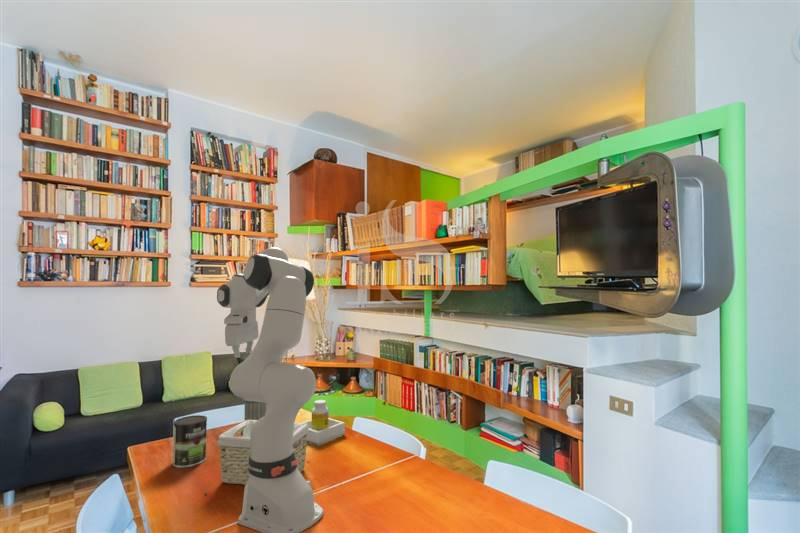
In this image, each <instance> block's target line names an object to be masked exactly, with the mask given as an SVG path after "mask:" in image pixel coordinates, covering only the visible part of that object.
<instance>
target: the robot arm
mask: <svg viewBox="0 0 800 533" xmlns="http://www.w3.org/2000/svg"><path fill="white" fill-rule="evenodd" d="M314 285H315V277H314V274H313V272H312V271H310V270H309V269H308V268H306V267H304V266H301V265H298V264H295V263H292V262H290V261H289V257H288V255H287V254H286V252H285V251H284V250H283V249H281V248H279V247H275V246H273V247H268V248H265V249H264V250H261V251H260V252H259V253H256V254H253V255H252V256H250V258H249V259H248V260H247V261H246V264H245V265H244V268H243V273H235V274H233V275H232V276H231V280H230V281H228V282H226V283H223V284H221V285H220V286H219V288H217V293H216V301H217V303H218V304H219V305H220V306H221V307H223V308H227V309H230V313H229V314H228V315H227V316H226V317H225V318H223V319H224V320H223V323H224V325H225V327H224V336H225V337H224V340H225V342H224V343H225V344H226V346H227V347H231V349H232V351H233V357H234V358H240V357H241V356H242V355H241V354H242V352H241V351H240V348H241V347H240V346H241V345H244V344H246V348H245V353H246V354H249V355H248V356H247V357H246V358H245V359H244V360H243V361H242V362H240V363H239V364H237V365H236V366H235V368H233V370H232V372H231V374H230V377H229V388H230V391H231V393H232V394H233V395H234V396H236V397H238V398H240V399H243V400H244V399H245V400H248V401H255V402H263V403H266V404H267V409H266V414H265V416H264V417H262V418H260V419H259V420H257V421H256V422H255V424H254V425H253V426H252V429H251V449H250V456H249V461H248V471H249V473H250V474H249V478H248V481H247V483H246V485H244V490H243V500H242V510H241V511H242V512H241V513H240V515H239V517H238V520H237V523H238V524H239V525H241V526H243V527H247V528H249V529H252V530H255V531H257V532H260V533H302V532H303V531H305V530H306V529H309V528H310V527H312V526H313V525H314V524H316V523H317V522H318V521H319V520H320V519H321V518H322V517H323V516H324V513H325V512H324V508H323V507H322V506H320V505H319V504H318V503H317V502H316V501H315V496H314V491H313V488H312V482H311V481H310V480H306V479H305V477H304V475H303V474H302V472H301V473H300V471H299V470H298V468H297V464H298V463H297V461H299V459H298V460H296V456H295V453H294V450H293V430H294V423H296V418H297V415H298V413H299V411H300V410H301V408H302V407H303V406H304V405H306V404H307V403H308V402H309V401H310V400H311V399H312V398H313V396H314V394H315V392H316V388H317V378H316V375H315V373H314V372H313V370H312V369H311V368H309V367H307V366H304V365H301V364H297V363H291V362H282V361H283V359H284V356H285V355H286V354H287V353H288V352H289V351H290V350H291V349H293V348H295V347H296V346H298V344H299V343H300V341H301V338H302V332H303V331H302V330H303V326H304V321H305V320H304V319H305V314H306V313H305V312H306V304H307V297H308V296H309V295H310V294H311V292H312V291H313V288H314ZM267 298H268V299H267ZM266 301H267V303H266ZM265 303H266V306H265V307H266V308H265V312H264V318H263V321H262V325H261V326H262V327H261V330H260V333H259V323H258V321H257V308H260V307H261V306H263V304H265ZM254 340H257V341H256V344H255V346H254V347H253V345H254Z"/></svg>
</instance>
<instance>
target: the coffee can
mask: <svg viewBox="0 0 800 533" xmlns="http://www.w3.org/2000/svg"><path fill="white" fill-rule="evenodd" d="M207 421H208V417H207V416H205V415H199V414H198V415H189V416H184V417H179V418H177V419H176V420H174V421H173V451H172V453H173V454H172V466H173V467H175V468H179V469H181V468H182V469H184V468H191V467H194V466H198V465H200V464H202V463H204V462H205V461H206V459H207V426H208V425H207V423H208V422H207Z"/></svg>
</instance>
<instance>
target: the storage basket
mask: <svg viewBox="0 0 800 533" xmlns="http://www.w3.org/2000/svg"><path fill="white" fill-rule="evenodd" d="M256 421H257V420H246V421H245V420H243V421H242V422H240V423H239V424H236V425H235V426H232V427H231V428H230V429H227V430H226V431H224V432H222V433H221V434H219V436H218V440H217V445H218V447H219V457H220V458H219V463H220V467H219V468H220V470H221V472H220V475H221V483H223V484H224V483H226V484H229V485H232V484H234V485H235V484H236V485H242V486H243V485H244V486H245V485H246V483H247V481H248V478H249V474H250V473H249V471H248V461H249V456H250V449H251V429H252V426H253V425H254V424H255V422H256ZM308 432H309V428H308V424H306V423H304V424H303V423H302V422H294V430H293V450H294V453H295V456H296V460H298V459H299V461H297V463H298V464H297V468H298V470H299V471H300V473H301V474H302V471H303V470H304V469H305V467H306V454H307V442H306V441H307V433H308ZM238 435H240V436H238Z"/></svg>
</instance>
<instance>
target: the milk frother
mask: <svg viewBox="0 0 800 533" xmlns="http://www.w3.org/2000/svg"><path fill="white" fill-rule="evenodd" d="M243 402H244V421H246V420H259V419H260V418H262V417H264V416H265V414H266V409H267V404H266V403H263V402H255V401H248V400H245V399H243Z"/></svg>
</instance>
